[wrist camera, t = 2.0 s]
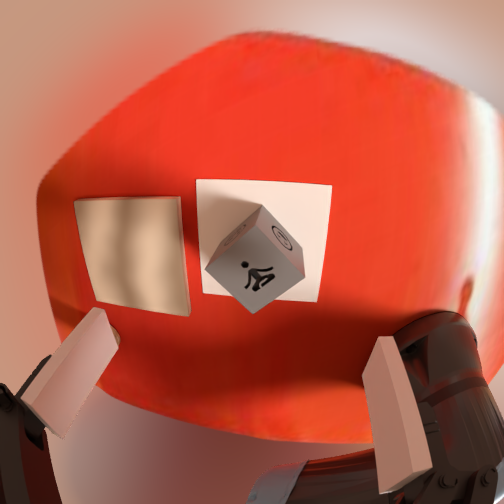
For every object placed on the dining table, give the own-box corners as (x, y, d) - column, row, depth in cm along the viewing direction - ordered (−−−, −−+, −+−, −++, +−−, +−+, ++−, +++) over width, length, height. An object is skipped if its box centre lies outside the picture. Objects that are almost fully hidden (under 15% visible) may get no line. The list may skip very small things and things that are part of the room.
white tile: (331, 185, 20) (332, 185, 20) (316, 301, 25) (316, 302, 25) (196, 179, 22) (195, 179, 22) (203, 292, 26) (202, 293, 26)
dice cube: (259, 280, 25) (252, 314, 20) (220, 242, 24) (204, 269, 19) (302, 247, 23) (305, 277, 18) (262, 204, 22) (255, 224, 17)
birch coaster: (180, 196, 22) (176, 199, 22) (191, 310, 27) (188, 316, 27) (79, 198, 24) (73, 201, 23) (100, 296, 29) (96, 300, 28)
